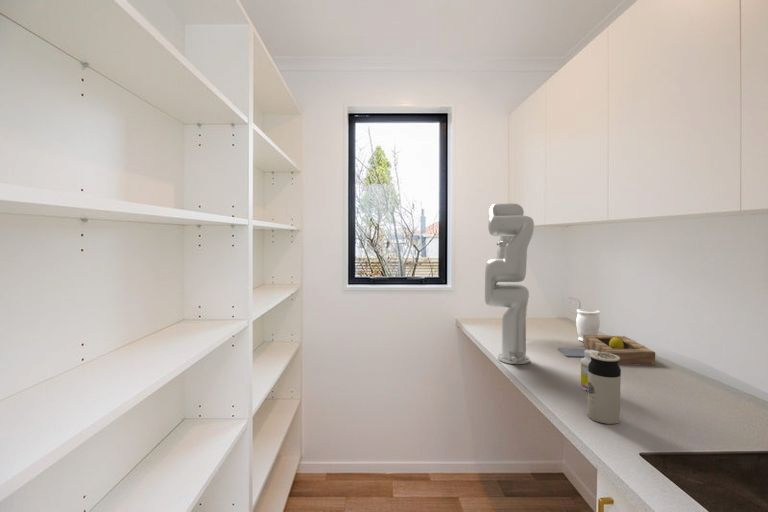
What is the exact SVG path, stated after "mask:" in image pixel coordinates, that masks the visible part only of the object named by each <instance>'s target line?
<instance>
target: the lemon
mask: <svg viewBox="0 0 768 512" xmlns="http://www.w3.org/2000/svg"><path fill="white" fill-rule="evenodd" d="M609 347H611V348H612V349H624V344H623V341H622V340H621V339H620V338H618V337H614V338H612V339H611V340H610V342H609Z"/></svg>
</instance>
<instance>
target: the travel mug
mask: <svg viewBox="0 0 768 512" xmlns="http://www.w3.org/2000/svg"><path fill="white" fill-rule="evenodd" d="M590 357H591V362H590V363H589V365H588V391H587V408H586V409H587V412H586V413H587V414H586V415H587V416H588V418H590V419H591V420H593V421H595V422H598V423H601V424H606V425H614V424H617V423H619V422H620V416H621V415H620V414H621V411H620V410H621V408H620V407H621V381H622V380H621V375H622V373H621V372H622V371H621V370H622V369H621V367H620V364H618V362H619V360H620V357H619V356H617V355H614V354H611V353H605V352H592V353H590Z"/></svg>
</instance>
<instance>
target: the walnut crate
mask: <svg viewBox="0 0 768 512" xmlns="http://www.w3.org/2000/svg"><path fill="white" fill-rule="evenodd" d="M614 337H618V338H620V339H621V340H622V341H623V344H624V349H612V348H611V347H609V342H610V340H611V339H612V338H614ZM582 346H583V347H584V348H585V347H586V348H585V349H587V350H595V351H599V352H605V353H611V354H614V355H617V356H619V357H620V360H619V362H618V365H635V364H640V365H641V366H655V365H656V351H653V350H651V349H650V348H649V347H646V346H644V345H642V344H640V343H638V342H637V341H635V340H633V339H632V338H629V337H627V336H625V335H609V334H608V335H607V334H605V335H603V334H598V335H583V341H582ZM640 365H639V366H640Z"/></svg>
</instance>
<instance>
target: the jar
mask: <svg viewBox="0 0 768 512" xmlns="http://www.w3.org/2000/svg"><path fill="white" fill-rule="evenodd" d="M576 313H577V315H576V318H575V319H576V320H575V326H576V331H577V334H578V338H577V339H578V341H579V342H583V335H599V330H600V326H601V325H600V324H601V319H600V314H601V311H600V310H597V309H591V308H577V309H576Z"/></svg>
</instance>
